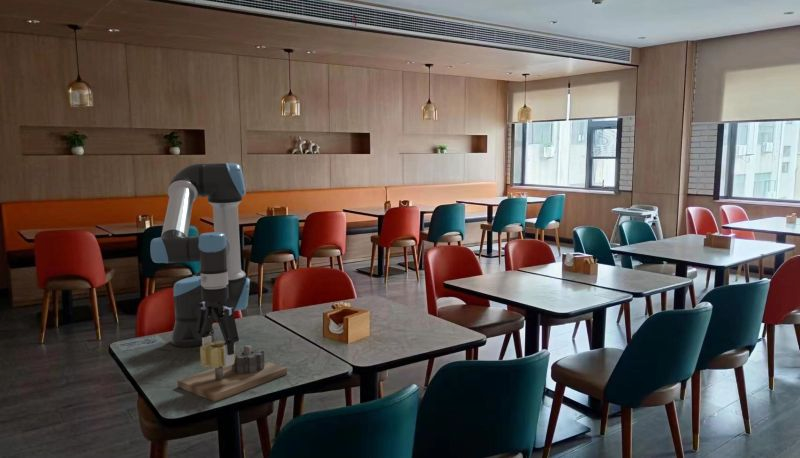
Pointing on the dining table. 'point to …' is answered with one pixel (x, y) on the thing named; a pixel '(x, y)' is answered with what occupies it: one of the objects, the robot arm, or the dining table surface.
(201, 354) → the brass gear
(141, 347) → the dining table surface
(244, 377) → the gear board
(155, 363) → the dining table surface
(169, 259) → the robot arm
